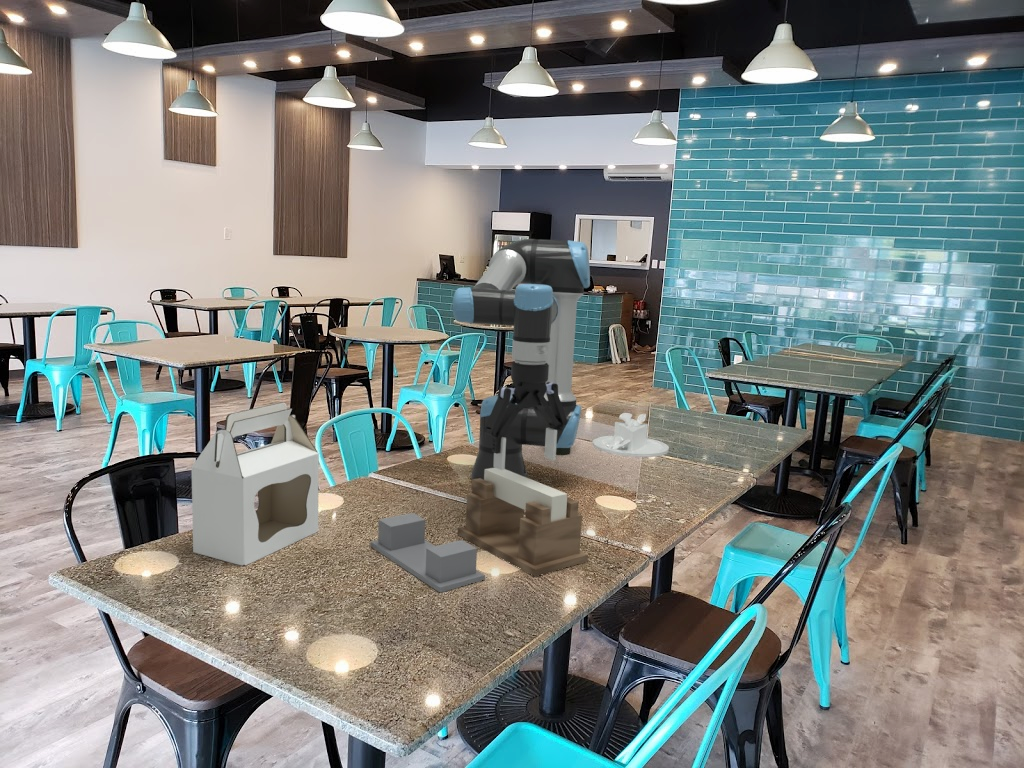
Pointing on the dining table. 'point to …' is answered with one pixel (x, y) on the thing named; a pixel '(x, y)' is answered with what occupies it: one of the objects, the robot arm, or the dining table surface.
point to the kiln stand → (426, 553)
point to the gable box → (255, 488)
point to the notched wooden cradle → (523, 531)
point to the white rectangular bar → (526, 492)
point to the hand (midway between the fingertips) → (525, 463)
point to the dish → (631, 439)
